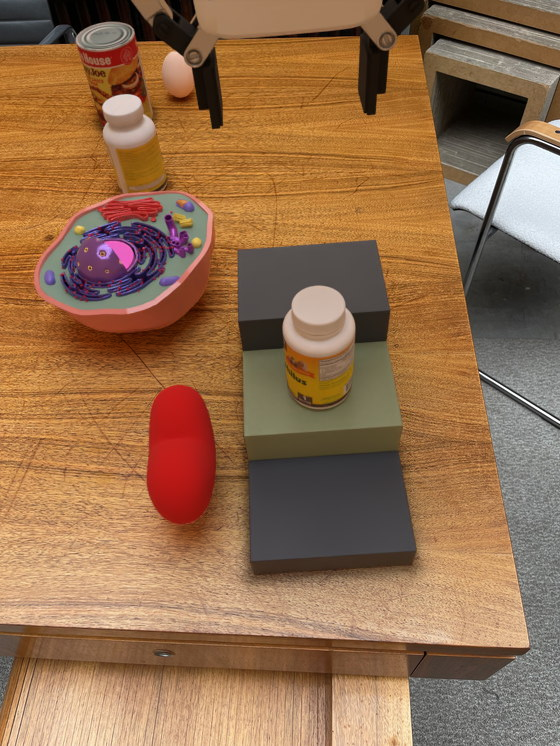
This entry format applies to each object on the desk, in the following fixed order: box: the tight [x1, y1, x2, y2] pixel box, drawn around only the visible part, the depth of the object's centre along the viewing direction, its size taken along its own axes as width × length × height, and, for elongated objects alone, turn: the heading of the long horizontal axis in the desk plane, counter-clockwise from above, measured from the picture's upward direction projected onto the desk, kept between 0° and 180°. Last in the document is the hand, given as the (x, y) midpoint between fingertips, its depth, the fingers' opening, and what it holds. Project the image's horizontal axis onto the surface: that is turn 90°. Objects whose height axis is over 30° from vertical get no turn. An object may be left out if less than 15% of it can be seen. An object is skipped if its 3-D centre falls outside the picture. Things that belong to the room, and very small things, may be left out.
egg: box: [161, 50, 195, 99], centre depth 95 cm, size 5×5×7 cm
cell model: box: [33, 190, 216, 334], centre depth 67 cm, size 17×20×11 cm
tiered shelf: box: [236, 239, 417, 576], centre depth 56 cm, size 13×27×11 cm, turn 3°
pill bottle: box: [102, 94, 168, 194], centre depth 80 cm, size 6×6×12 cm
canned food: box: [75, 21, 154, 129], centre depth 90 cm, size 8×8×12 cm
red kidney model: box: [146, 384, 217, 526], centre depth 53 cm, size 12×5×10 cm, turn 4°
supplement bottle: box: [283, 286, 355, 409], centre depth 50 cm, size 6×6×10 cm
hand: (291, 110), depth 41 cm, fingers open, 9 cm apart
